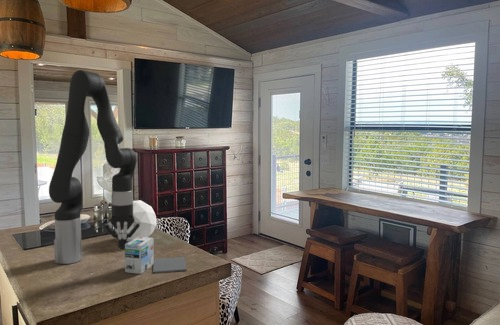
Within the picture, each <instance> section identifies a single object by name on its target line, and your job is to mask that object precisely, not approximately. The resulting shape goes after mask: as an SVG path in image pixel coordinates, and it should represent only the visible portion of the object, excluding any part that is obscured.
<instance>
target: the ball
mask: <svg viewBox="0 0 500 325" xmlns="http://www.w3.org/2000/svg"><path fill="white" fill-rule="evenodd" d="M133 217H134V219H135V221H136V222H137V223H140V226H139V228H138V229H137V230H136V231H135V233H134V234H133V235H132V236H131V237H130V238H127V243H128V242H130V241H132V240H133V239H135V238H137V237H148V238H150V236H151V235H152V234H153V233H154V232H155V230H156V227H157V216H156V213H155V211H154V209H153V207H152V206H151V205H149V204H147V203H146V202H144V201H143V200H140V199H139V200H133ZM133 225H134V224H132V225H131V226H130V228H129V229H128V231H127V234H128V233H130V231H131V230H132V229H133V228H134V227H133ZM113 227H114V226H113ZM113 229H114V231H115V232H116V233H117V234H118V232H117V229H116V228H115V227H114V228H113ZM122 238H123V230H122Z"/></svg>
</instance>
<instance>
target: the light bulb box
mask: <svg viewBox="0 0 500 325" xmlns="http://www.w3.org/2000/svg"><path fill="white" fill-rule="evenodd" d="M154 242H155V240H154V237H137V238H135V239H133V240H132V241H130V242H127V243H126V244H125V249H124V258H125V259H124V261H125V262H124V264H125V266H124V270H125V273H128V274H130V273H131V274H137V275H142V274H143V273H145V272H147V270H148V269H150V268H151V267H152V266H154V259H155V258H154V256H155V255H154V252H155V251H154V244H155V243H154Z"/></svg>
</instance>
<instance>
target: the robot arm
mask: <svg viewBox="0 0 500 325" xmlns="http://www.w3.org/2000/svg"><path fill="white" fill-rule="evenodd" d="M68 90H69V91H68V102H67V107H66V108H67V110H66V114H65V115H66V116H65V120H64V126H63V129H62V132H61V140H60V145H59V149H58V154H57V159H56V163H55V166H54V171H53V172H52V176H51V179H50V182H49V185H48V186H49V187H48V194H49V198H50V199H51V201H53V202H54V203H56V204H60V206H59V207H58V209H57V210H55V212H54V232H55V234H54V235H55V238H54V240H53V248H54V264H60V265H67V264H68V265H70V264H76V263H78V262H80V261H82V260H83V253H82V252H83V251H82V248H83V246H82V229H81V228H82V227H81V226H82V225H81V213H82V210H83V186H82V183H81V182H80V180H79V179H78V178H76V177H74V176H73V172H74V170H75V168H76V165H77V164H78V163H79V162H80V160H81V158H82V157H83V155H84V153H85V151H86V150H87V146H88V142H89V137H90V127H89V124H88V120H87V117H86V114H85V104H86V98H87V97H88V98H92V100H93V101H94V103H95V106H96V108H97V113H96V114H97V116H96V126H97V129H98V132H99V134H100V137H101V139H102V141H103V144H104V145H103V146H104V152H105V153H104V154H105V159H106V162H107V163H108V165H109V166H110V167H111V168H113V169H119V171H118V173H116V174H114V175H113V176H112V179H111V189H112V190H111V217H110V221H109V222H107V223H105V224H104V229H105V230H106V231H107V232H108V233H109V234H110V235H111V237H112V238H113V239H117V240H118V244H117V245H118V248H119V249H120V250H125V244H126V243H128V242H127V238H130V237H131V236H132V235H133V234H134V233H135V231H136V230H137V229H138V228H139V226H140V223H137V222H136V221H135V219H134V217H133V201H134V194H133V178H134V174H135V170H136V166H137V162H138V161H137V154H136V153H135V151H134V150H133V148H131V147H130V148H129V147H124V148H123V147H122V148H120V147H119V145H120V144H121V143H122V142H123V141H124V136H123V132H122V131H121V129H120V126H119V124H118V122H117V120H116V118H115V114H114V111H113V108H112V103H111V100H110V96H109V93H108V88H107V85H106V82H105V79H104V77H102V75H101V74H99V73H96V72H92V71H87V70H84V69H77V70H76V71H74V73H72V76H71V78H70V83H69V89H68ZM132 224H134V225H133V227H134V228H133V229H132V230H131V231H130V233H128V234H127V231H128V229H129V228H130V226H131V225H132ZM113 227H115V228H116V229H117V232H118V234H117V233H116V230H115V228H113ZM122 230H123V238H122Z"/></svg>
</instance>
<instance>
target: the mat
mask: <svg viewBox="0 0 500 325" xmlns="http://www.w3.org/2000/svg"><path fill="white" fill-rule="evenodd" d="M186 271H187V263H186V258H185V256H176V257H175V256H174V257H162V258H161V257H160V258H154V265H153V268H152V274H161V273H175V272H176V273H177V272H186Z"/></svg>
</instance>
